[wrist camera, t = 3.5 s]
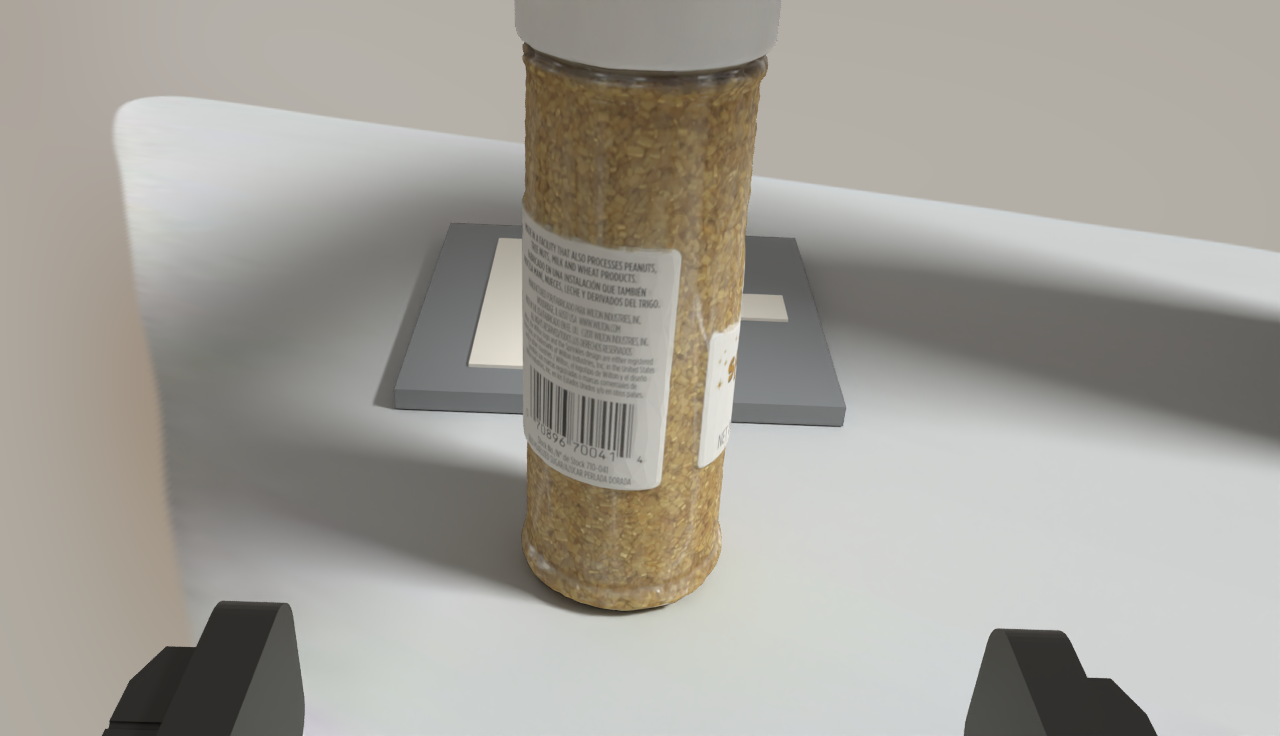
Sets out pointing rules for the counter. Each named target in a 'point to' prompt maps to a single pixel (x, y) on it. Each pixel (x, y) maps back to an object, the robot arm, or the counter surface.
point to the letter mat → (493, 345)
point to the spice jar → (633, 283)
